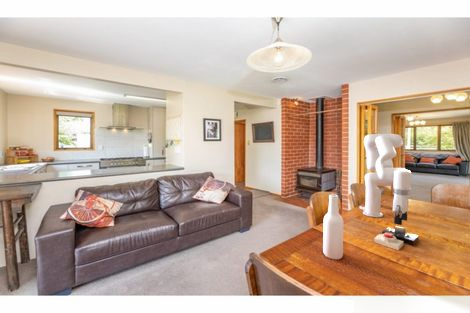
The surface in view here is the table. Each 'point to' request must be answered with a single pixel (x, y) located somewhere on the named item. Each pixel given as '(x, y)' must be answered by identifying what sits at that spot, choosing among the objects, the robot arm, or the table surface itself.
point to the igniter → (388, 241)
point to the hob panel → (403, 236)
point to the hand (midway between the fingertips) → (400, 222)
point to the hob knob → (400, 230)
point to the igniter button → (388, 235)
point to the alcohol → (333, 230)
